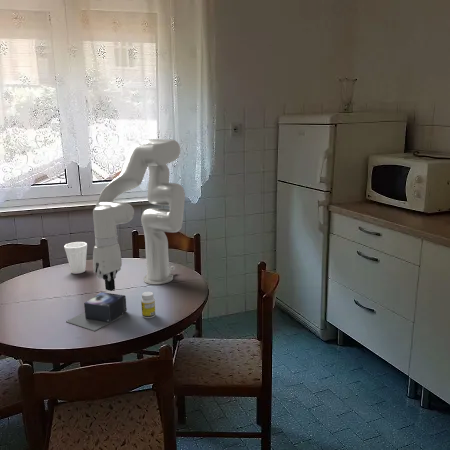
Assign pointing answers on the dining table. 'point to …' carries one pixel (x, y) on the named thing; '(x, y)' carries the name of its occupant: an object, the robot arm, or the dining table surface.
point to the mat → (89, 322)
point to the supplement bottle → (148, 305)
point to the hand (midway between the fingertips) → (110, 289)
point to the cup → (76, 256)
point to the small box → (105, 307)
